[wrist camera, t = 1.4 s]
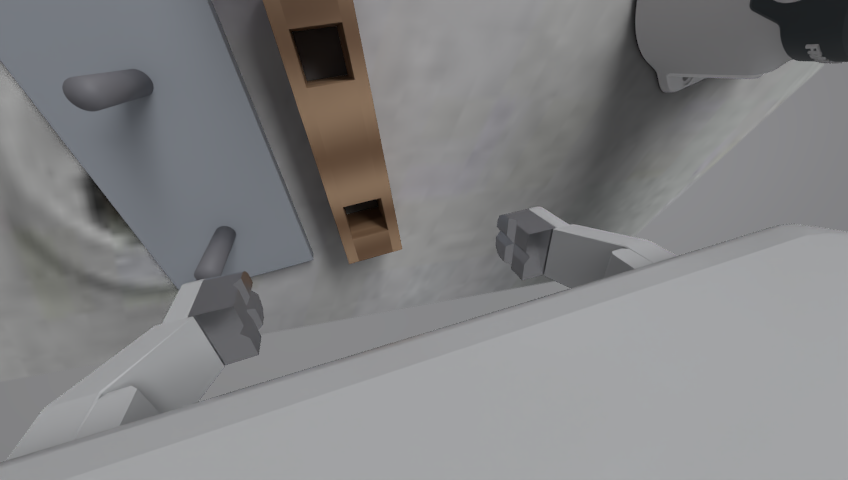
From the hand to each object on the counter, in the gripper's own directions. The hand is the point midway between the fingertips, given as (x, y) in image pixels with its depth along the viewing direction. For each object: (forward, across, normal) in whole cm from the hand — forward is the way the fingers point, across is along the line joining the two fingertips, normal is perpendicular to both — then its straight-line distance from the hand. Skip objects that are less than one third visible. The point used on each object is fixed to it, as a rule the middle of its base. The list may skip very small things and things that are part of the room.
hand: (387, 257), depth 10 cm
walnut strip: (+20, -1, 0) cm, 20 cm away
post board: (+21, +11, +1) cm, 24 cm away
